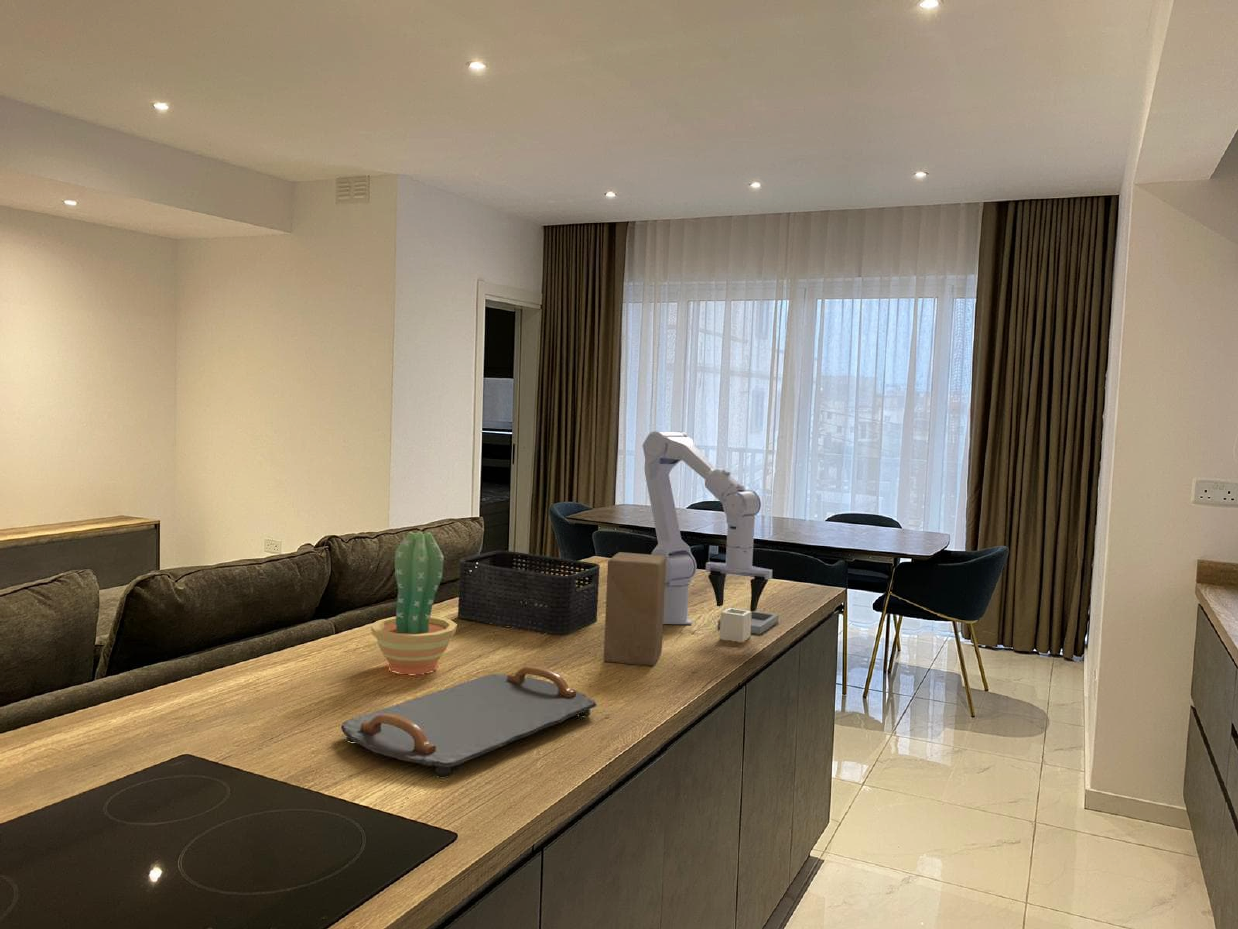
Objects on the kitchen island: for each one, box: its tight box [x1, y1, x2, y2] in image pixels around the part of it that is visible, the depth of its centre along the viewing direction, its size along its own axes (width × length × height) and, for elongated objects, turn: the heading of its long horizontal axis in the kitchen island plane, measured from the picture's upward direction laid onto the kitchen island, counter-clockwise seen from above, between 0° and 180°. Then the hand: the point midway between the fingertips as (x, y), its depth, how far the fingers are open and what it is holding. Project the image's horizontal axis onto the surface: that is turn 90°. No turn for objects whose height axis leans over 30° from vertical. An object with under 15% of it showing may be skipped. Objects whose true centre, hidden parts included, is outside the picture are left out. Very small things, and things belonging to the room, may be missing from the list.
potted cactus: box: [370, 530, 458, 674], centre depth 165 cm, size 15×15×25 cm
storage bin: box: [457, 550, 601, 636], centre depth 207 cm, size 29×19×13 cm
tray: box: [717, 608, 779, 635], centre depth 210 cm, size 14×10×2 cm
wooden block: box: [603, 551, 666, 667], centre depth 179 cm, size 10×10×20 cm
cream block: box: [719, 607, 752, 644], centre depth 198 cm, size 5×5×6 cm
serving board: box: [340, 665, 598, 778], centre depth 138 cm, size 39×23×6 cm, turn 145°
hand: (736, 608), depth 197 cm, fingers open, 7 cm apart
